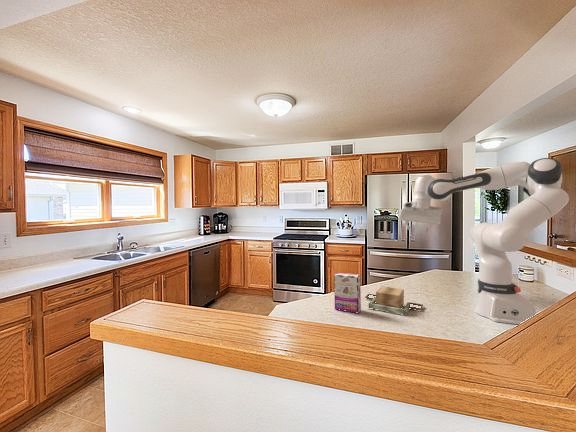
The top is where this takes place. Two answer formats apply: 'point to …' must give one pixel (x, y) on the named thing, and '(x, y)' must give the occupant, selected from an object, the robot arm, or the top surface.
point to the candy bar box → (347, 292)
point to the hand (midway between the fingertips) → (417, 230)
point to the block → (390, 297)
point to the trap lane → (392, 309)
